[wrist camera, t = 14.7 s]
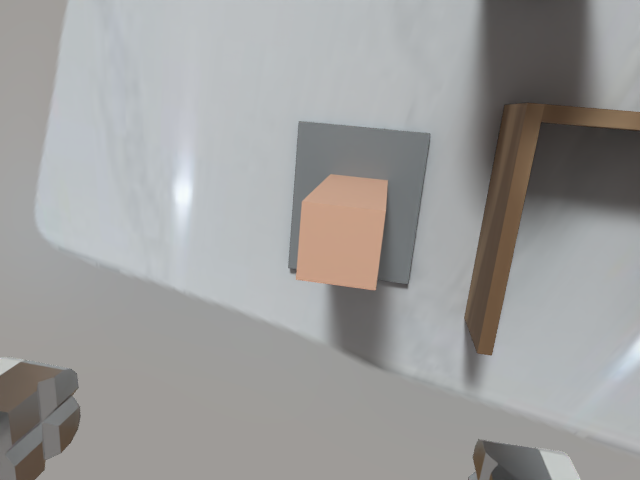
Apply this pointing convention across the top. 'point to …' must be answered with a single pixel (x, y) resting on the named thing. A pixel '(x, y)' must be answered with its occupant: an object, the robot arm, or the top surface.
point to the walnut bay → (517, 203)
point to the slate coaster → (367, 162)
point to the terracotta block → (342, 232)
